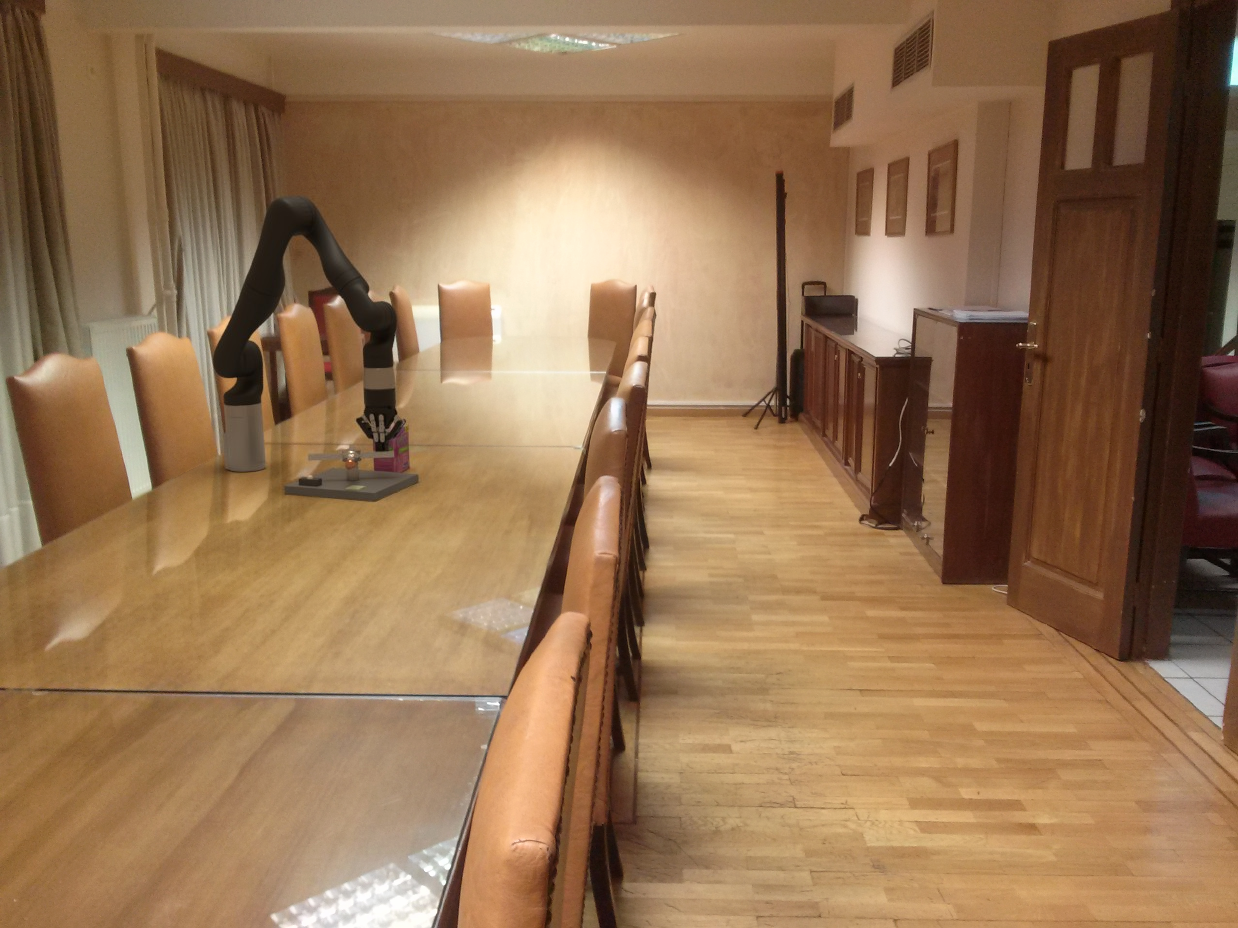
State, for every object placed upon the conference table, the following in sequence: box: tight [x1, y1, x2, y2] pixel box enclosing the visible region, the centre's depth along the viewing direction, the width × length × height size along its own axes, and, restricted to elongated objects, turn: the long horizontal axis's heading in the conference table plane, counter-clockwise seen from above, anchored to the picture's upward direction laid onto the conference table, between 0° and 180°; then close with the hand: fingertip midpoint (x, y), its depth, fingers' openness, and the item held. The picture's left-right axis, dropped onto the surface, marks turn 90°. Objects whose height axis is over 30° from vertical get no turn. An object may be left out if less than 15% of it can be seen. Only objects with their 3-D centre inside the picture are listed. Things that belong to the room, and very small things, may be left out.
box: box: [372, 422, 411, 473], centre depth 277 cm, size 10×6×12 cm, turn 168°
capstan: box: [307, 444, 394, 470], centre depth 258 cm, size 22×20×2 cm
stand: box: [284, 461, 420, 502], centre depth 260 cm, size 24×21×6 cm
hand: (382, 456), depth 263 cm, fingers closed
